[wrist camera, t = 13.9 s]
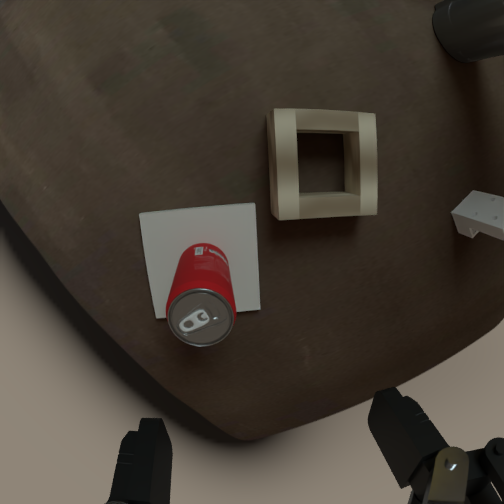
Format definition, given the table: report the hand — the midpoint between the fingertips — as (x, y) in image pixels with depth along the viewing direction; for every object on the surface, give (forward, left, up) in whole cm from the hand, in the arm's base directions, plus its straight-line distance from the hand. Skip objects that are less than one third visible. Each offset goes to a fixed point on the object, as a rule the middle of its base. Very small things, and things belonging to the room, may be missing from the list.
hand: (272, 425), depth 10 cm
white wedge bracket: (-2, +34, -25) cm, 42 cm away
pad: (+2, -3, -24) cm, 25 cm away
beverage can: (+2, -3, -24) cm, 24 cm away
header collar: (-8, +10, -24) cm, 28 cm away
